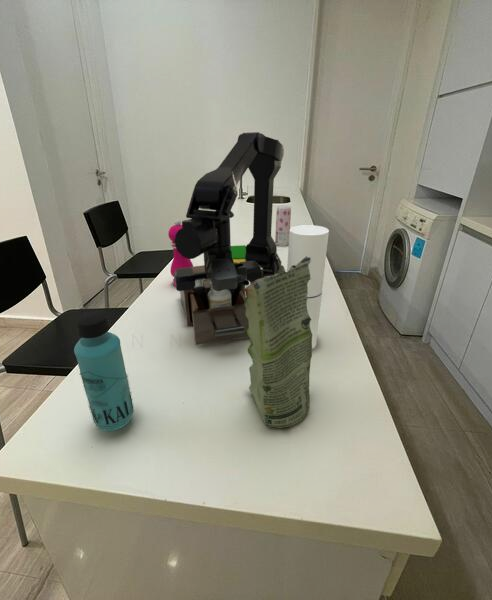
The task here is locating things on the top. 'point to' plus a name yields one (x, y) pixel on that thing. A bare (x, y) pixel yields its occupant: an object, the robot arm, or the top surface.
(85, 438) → the top surface
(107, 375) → the beverage bottle
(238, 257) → the dish sponge
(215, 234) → the robot arm
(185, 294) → the cabinet
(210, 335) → the drawer
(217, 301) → the supplement bottle
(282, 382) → the pouch
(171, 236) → the pepper mill
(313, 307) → the cylindrical container
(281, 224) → the beverage can
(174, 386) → the top surface
